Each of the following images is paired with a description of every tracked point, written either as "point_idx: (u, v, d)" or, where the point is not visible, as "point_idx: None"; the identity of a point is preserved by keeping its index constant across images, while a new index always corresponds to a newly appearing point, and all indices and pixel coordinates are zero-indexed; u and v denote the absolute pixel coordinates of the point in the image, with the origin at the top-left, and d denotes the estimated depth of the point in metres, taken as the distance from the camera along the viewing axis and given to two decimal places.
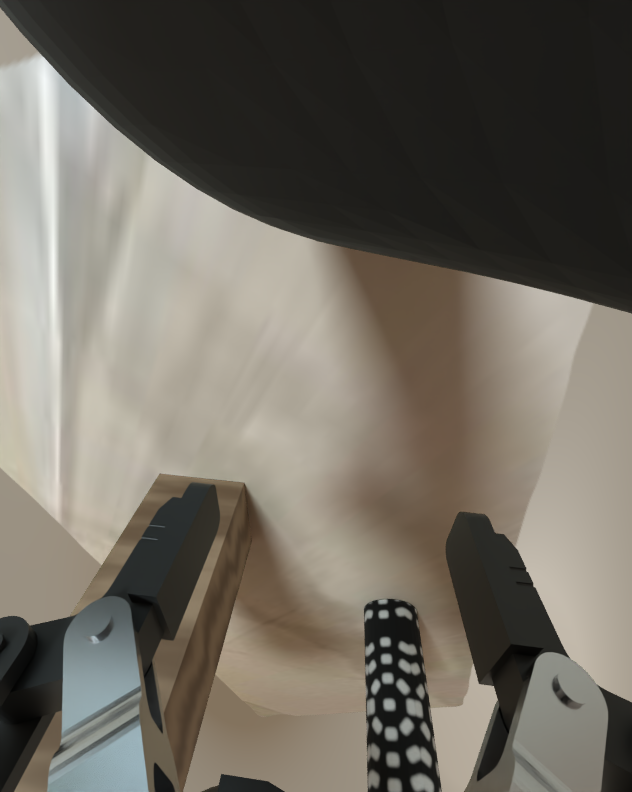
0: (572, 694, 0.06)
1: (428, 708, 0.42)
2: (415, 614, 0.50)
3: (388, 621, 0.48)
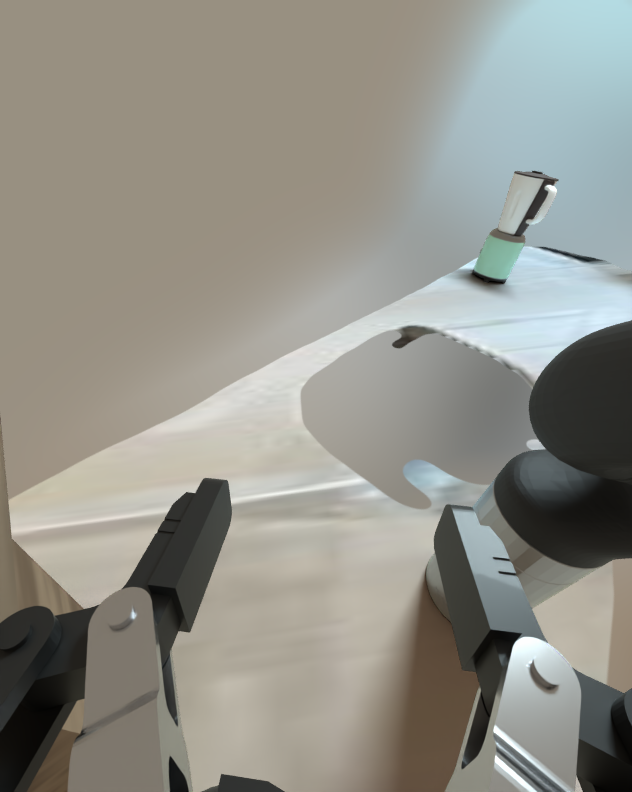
0: (547, 675, 0.06)
1: None
2: None
3: None
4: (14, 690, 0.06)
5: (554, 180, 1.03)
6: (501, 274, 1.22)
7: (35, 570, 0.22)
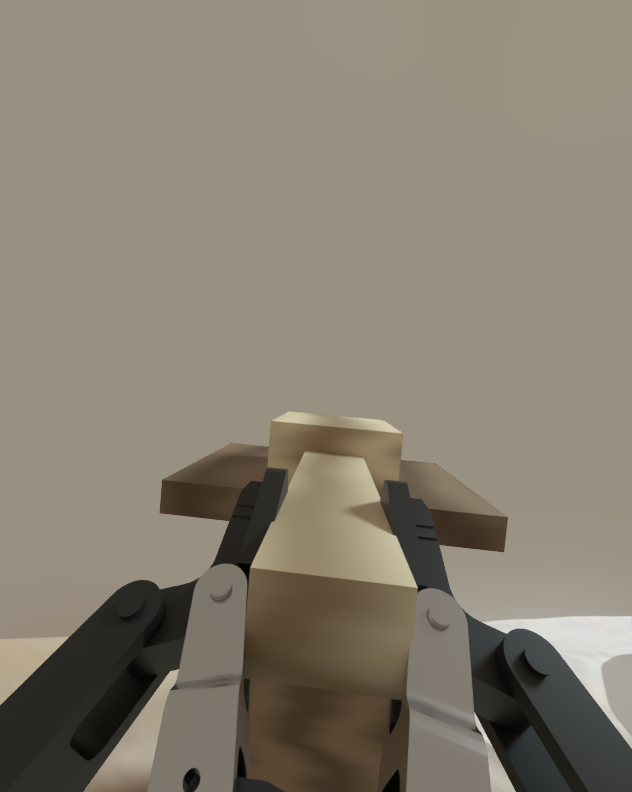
0: (439, 618, 0.07)
1: None
2: None
3: None
4: (120, 660, 0.06)
5: None
6: None
7: None
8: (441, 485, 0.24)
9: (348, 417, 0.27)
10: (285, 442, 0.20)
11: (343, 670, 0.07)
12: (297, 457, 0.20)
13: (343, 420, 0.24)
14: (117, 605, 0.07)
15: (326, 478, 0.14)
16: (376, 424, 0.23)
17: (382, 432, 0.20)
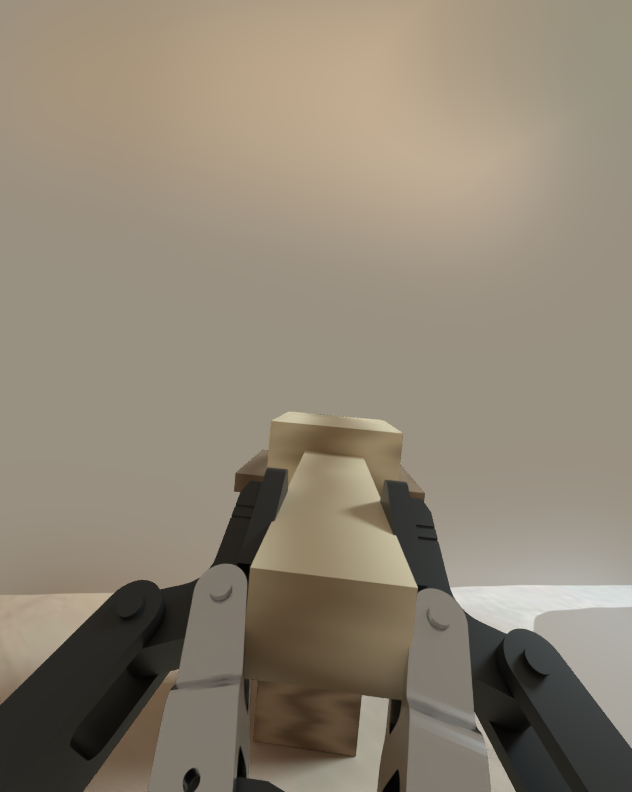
0: (439, 619, 0.07)
1: None
2: None
3: None
4: (120, 660, 0.06)
5: None
6: None
7: None
8: None
9: (348, 417, 0.27)
10: (285, 442, 0.20)
11: (343, 670, 0.07)
12: (297, 457, 0.20)
13: (343, 420, 0.24)
14: (117, 605, 0.07)
15: (326, 478, 0.14)
16: (376, 424, 0.23)
17: (382, 432, 0.20)
